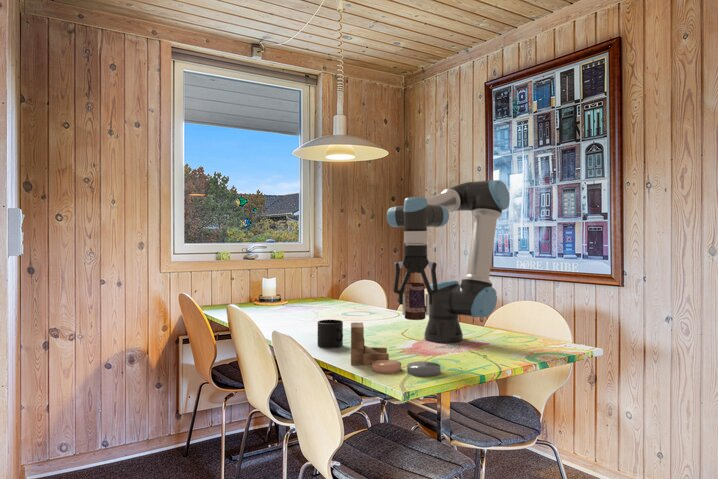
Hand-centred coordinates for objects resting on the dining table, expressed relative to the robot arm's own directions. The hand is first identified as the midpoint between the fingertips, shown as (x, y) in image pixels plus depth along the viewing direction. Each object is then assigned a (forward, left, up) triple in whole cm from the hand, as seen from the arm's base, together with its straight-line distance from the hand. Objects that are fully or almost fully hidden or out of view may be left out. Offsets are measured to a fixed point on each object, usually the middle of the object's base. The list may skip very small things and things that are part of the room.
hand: (415, 314), depth 164 cm
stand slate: (-1, +13, -15) cm, 20 cm away
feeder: (+15, 0, -15) cm, 22 cm away
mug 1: (+28, -23, -16) cm, 40 cm away
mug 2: (+1, 0, -2) cm, 2 cm away
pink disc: (+10, +10, -15) cm, 21 cm away
